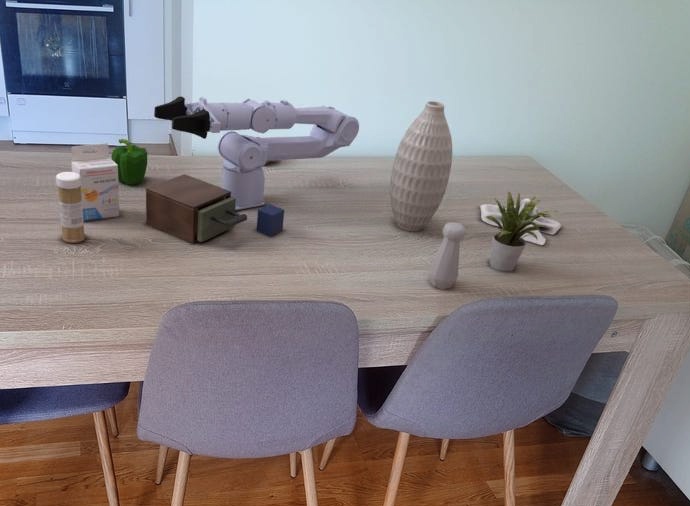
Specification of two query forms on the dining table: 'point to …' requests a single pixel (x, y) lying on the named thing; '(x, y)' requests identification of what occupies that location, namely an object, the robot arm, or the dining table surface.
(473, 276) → the dining table surface
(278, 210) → the box
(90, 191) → the ink box
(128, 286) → the dining table surface
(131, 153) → the bell pepper
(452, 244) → the salt shaker
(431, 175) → the vase
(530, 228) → the house plant
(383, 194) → the dining table surface
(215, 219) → the drawer
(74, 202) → the sprinkles bottle
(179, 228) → the cabinet
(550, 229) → the cloth
